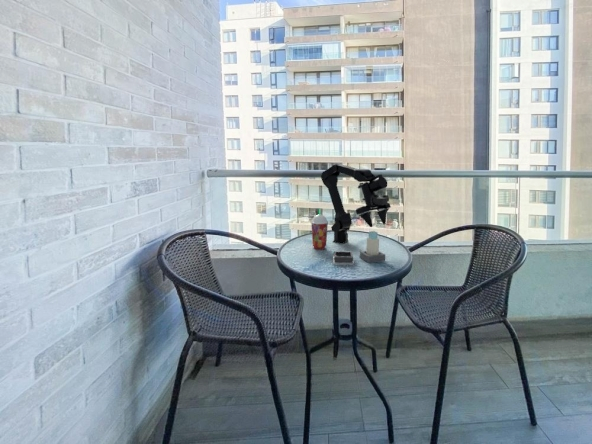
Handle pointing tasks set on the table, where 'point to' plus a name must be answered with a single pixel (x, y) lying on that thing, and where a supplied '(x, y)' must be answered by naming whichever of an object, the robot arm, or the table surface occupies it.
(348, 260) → the port
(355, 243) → the table surface
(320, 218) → the smoothie
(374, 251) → the cream bottle
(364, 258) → the grey square tray
